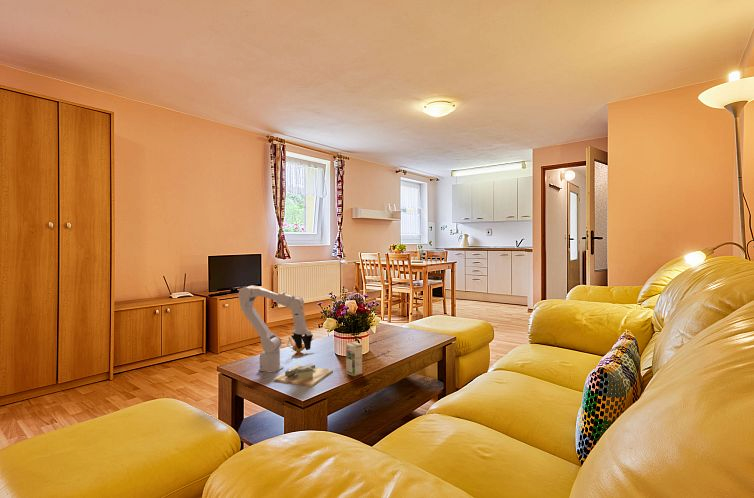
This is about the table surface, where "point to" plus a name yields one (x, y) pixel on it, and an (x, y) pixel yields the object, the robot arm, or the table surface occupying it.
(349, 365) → the syrup box
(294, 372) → the steel link
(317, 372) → the pintle board
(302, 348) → the magic lamp
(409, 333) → the table surface
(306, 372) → the keeper
